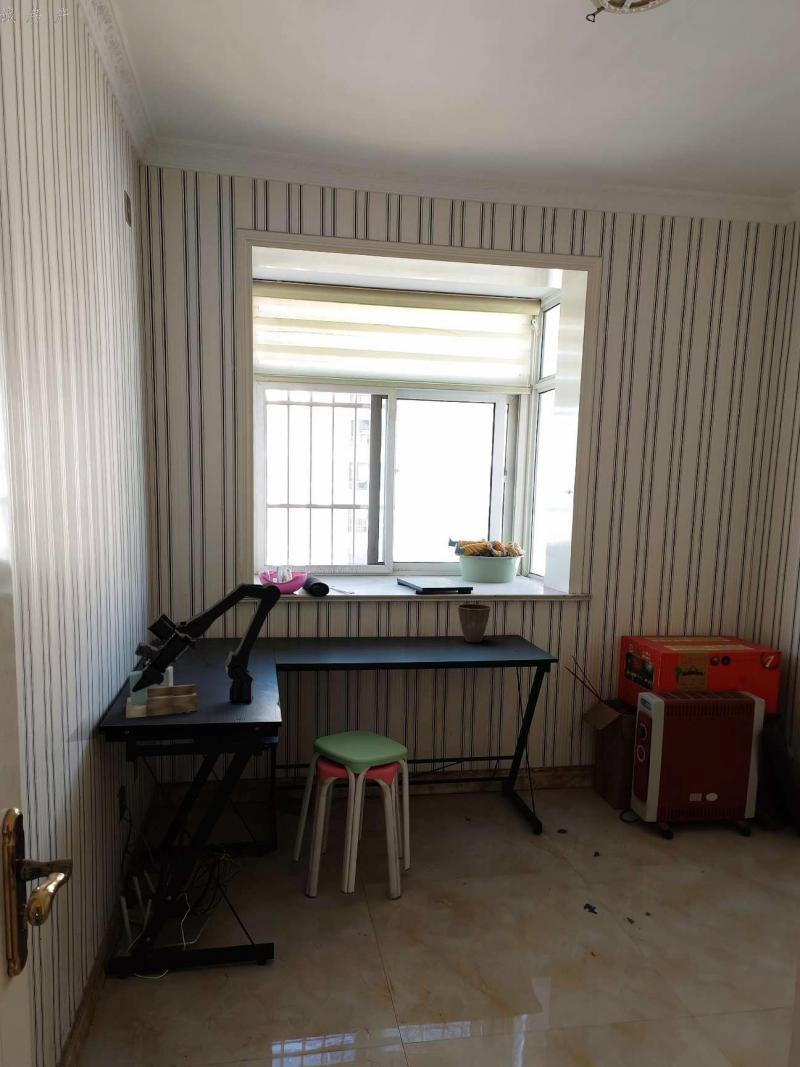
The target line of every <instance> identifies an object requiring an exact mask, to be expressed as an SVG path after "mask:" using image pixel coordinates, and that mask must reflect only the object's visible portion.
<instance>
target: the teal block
mask: <svg viewBox="0 0 800 1067" xmlns="http://www.w3.org/2000/svg"><path fill="white" fill-rule="evenodd" d="M141 676H142V670H135V671H129V690H130V697H131V705H138V704H145V703H146V699H147V687H146V688H144V689H141V690H139V691H137V692H133V691H132V689H133V687H134V686H135V684H136V683H137V682H138V680H139V679H140V678H141Z"/></svg>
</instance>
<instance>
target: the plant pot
mask: <svg viewBox="0 0 800 1067" xmlns="http://www.w3.org/2000/svg"><path fill="white" fill-rule="evenodd" d="M457 610H458V618H459V622H460V623H459V624H460V627H461V631H462V634H463V637H464V640H465V642H468V643H481V642H482V640H483V638H484V636H485V632H486V629H487V626H488V623H489V617H490V614H491V613H490V612H491V606H489V605H486V604H476V603H464V604H463V603H462V604H459V605H457Z"/></svg>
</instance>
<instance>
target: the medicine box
mask: <svg viewBox="0 0 800 1067" xmlns="http://www.w3.org/2000/svg"><path fill="white" fill-rule="evenodd" d="M167 686H174V667H173V666H172V665H170V666H169V667H168V668H167V669H166V672H165V673H164V681H163V682H162V683H161V684H160V685H158V684H154V685H151V686H148V687H147V688H155V687H167Z"/></svg>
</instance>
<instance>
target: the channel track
mask: <svg viewBox="0 0 800 1067" xmlns="http://www.w3.org/2000/svg"><path fill="white" fill-rule="evenodd" d="M190 711H197V712H198V694H197V693H196V684H194V683H193V684H182V685H173V686H167V687H155V688H147V699H146V703H145V704H138V705H131V696H130V697H127V699H126V708H125V718H126V719H132V718H140V717H141V718H143V717H152V716H163V715H172V714H175V713H176V714H183V713H182V712H186V713H191V712H190Z"/></svg>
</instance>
